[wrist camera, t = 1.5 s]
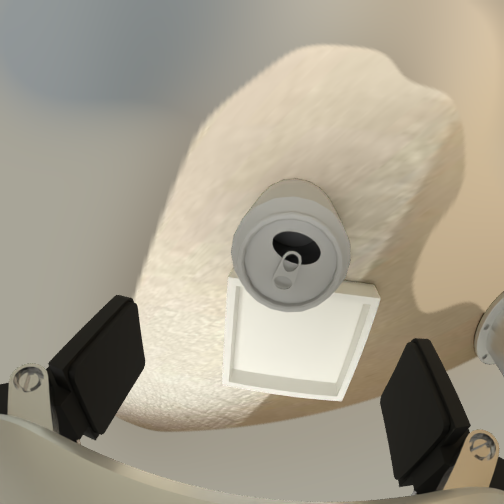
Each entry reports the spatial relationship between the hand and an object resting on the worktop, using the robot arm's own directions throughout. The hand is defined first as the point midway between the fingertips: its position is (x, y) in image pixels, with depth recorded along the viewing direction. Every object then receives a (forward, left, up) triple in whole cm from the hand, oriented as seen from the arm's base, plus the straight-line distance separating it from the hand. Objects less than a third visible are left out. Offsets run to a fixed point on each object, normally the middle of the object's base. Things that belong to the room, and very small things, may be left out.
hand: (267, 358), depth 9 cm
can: (0, 0, -20) cm, 20 cm away
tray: (-2, +13, -20) cm, 24 cm away
